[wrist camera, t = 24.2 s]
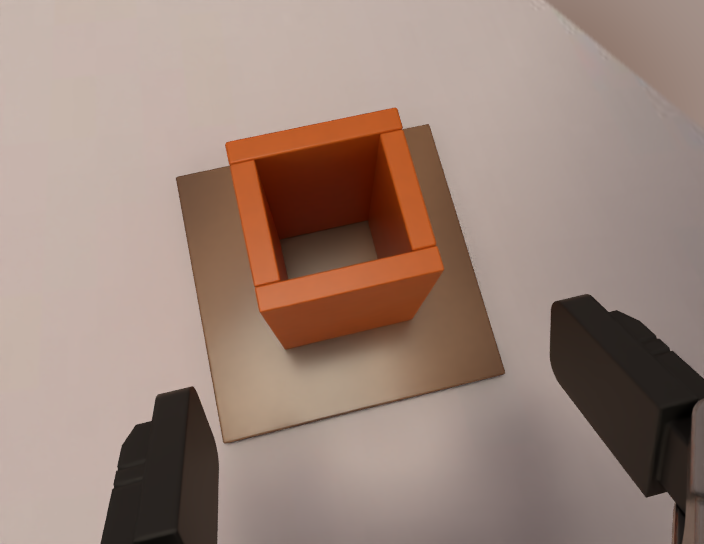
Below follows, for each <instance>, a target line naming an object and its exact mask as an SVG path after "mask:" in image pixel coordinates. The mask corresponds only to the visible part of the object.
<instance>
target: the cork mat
mask: <svg viewBox="0 0 704 544" xmlns="http://www.w3.org/2000/svg"><path fill="white" fill-rule="evenodd" d="M403 131H404V133H405V137H406V140H407V144H408V147H409V151H410V154H411V157H412V161H413V164H414V168H415V171H416V174H417V178H418V181H419V185H420V188H421V192H422V195H423V198H424V202H425V205H426V209H427V212H428V215H429V219H430V222H431V226H432V229H433V233H434V236H435V239H436V243H437V244H436V246H437V247H438V249H439V252H440V256H441V259H442V262H443V266H444V271H443V273H442V274H441V276H440V277H439V279H438V280H437V282H436V283H435V285H434V286H433V288H432V290H431V291H430V293H429V294H428V296H427V297H426V299H425V300H424V302H423V303H422V305H421V306H420V308H419V310H418V311H417V313H416V314H415V316H414V317H413V319H412V320H408V321H404V322H399V323H395V324H391V325H387V326H383V327H378V328H374V329H370V330H366V331H361V332H357V333H353V334H349V335H345V336H340V337H336V338H332V339H328V340H323V341H319V342H315V343H311V344H307V345H302V346H298V347H294V348H290V349H284V348H283V346H282V345H281V343H280V342H279V340H278V339H277V337H276V336H275V334H274V333H273V331H272V330H271V328H270V327H269V325H268V324H267V322H266V321H265V319H264V318H263V316H262V315H261V313H260V312H259V308H258V303H257V298H256V294H255V286H254V284H253V279H252V274H251V269H250V264H249V259H248V254H247V250H246V245H245V240H244V235H243V230H242V225H241V220H240V215H239V210H238V205H237V201H236V196H235V191H234V186H233V181H232V176H231V171H230V166H227V167H222V168H217V169H212V170H208V171H203V172H198V173H193V174H189V175H184V176H179V177H176V181H177V186H178V192H179V198H180V203H181V209H182V214H183V220H184V226H185V231H186V237H187V242H188V248H189V254H190V259H191V265H192V270H193V276H194V281H195V287H196V293H197V298H198V304H199V309H200V315H201V321H202V326H203V332H204V337H205V343H206V349H207V354H208V360H209V365H210V371H211V377H212V382H213V388H214V393H215V399H216V405H217V410H218V416H219V421H220V427H221V432H222V438H223V443H230V442H234V441H238V440H242V439H246V438H251V437H255V436H259V435H263V434H267V433H271V432H275V431H279V430H283V429H287V428H291V427H295V426H299V425H303V424H307V423H311V422H315V421H319V420H323V419H327V418H331V417H335V416H339V415H343V414H347V413H351V412H355V411H359V410H363V409H367V408H371V407H375V406H379V405H383V404H387V403H391V402H395V401H399V400H403V399H407V398H411V397H415V396H419V395H423V394H427V393H431V392H435V391H439V390H443V389H447V388H451V387H455V386H459V385H463V384H467V383H471V382H475V381H479V380H483V379H487V378H491V377H495V376H499V375H503V374H505V370H504V367H503V364H502V360H501V357H500V354H499V351H498V347H497V344H496V341H495V338H494V334H493V331H492V328H491V325H490V321H489V318H488V315H487V312H486V308H485V305H484V302H483V299H482V295H481V292H480V289H479V286H478V282H477V279H476V276H475V273H474V269H473V266H472V263H471V259H470V256H469V253H468V250H467V246H466V243H465V240H464V237H463V233H462V230H461V227H460V224H459V220H458V217H457V214H456V211H455V207H454V204H453V201H452V198H451V194H450V191H449V188H448V185H447V181H446V178H445V175H444V172H443V168H442V165H441V162H440V159H439V155H438V152H437V149H436V146H435V142H434V139H433V136H432V133H431V129H430V126H429V124H426V125H422V126H417V127H412V128H407V129H403ZM280 243H281V248H282V252H283V257H284V261H285V266H286V271H287V275H288V279H293V278H297V277H302V276H306V275H310V274H315V273H319V272H324V271H328V270H332V269H337V268H341V267H346V266H350V265H354V264H359V263H363V262H368V261H372V260H376V259H378V258H377V254H376V250H375V246H374V243H373V239H372V235H371V231H370V227H369V224H368V220H366V221H362V222H357V223H353V224H348V225H344V226H339V227H335V228H330V229H326V230H321V231H317V232H312V233H308V234H303V235H299V236H294V237H290V238H285V239H281V240H280Z"/></svg>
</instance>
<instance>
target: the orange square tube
mask: <svg viewBox="0 0 704 544" xmlns="http://www.w3.org/2000/svg"><path fill="white" fill-rule="evenodd" d="M402 128H403V127H402V123H401V120H400V116H399V113H398V110H397V108H391V109H386V110H381V111H376V112H371V113H366V114H362V115H357V116H352V117H347V118H342V119H337V120H332V121H328V122H323V123H318V124H313V125H308V126H303V127H298V128H294V129H289V130H284V131H279V132H274V133H269V134H264V135H260V136H255V137H250V138H245V139H240V140H235V141H230V142H227V143H226V144H225V146H226V151H227V156H228V161H229V165H230V171H231V176H232V181H233V186H234V191H235V196H236V201H237V205H238V210H239V215H240V220H241V225H242V230H243V235H244V240H245V245H246V250H247V254H248V259H249V264H250V269H251V274H252V279H253V284H254V286H255V294H256V298H257V303H258V308H259V312H260V313H261V315H262V316H263V318H264V319H265V321H266V322H267V324H268V325H269V327H270V328H271V330H272V331H273V333H274V334H275V336H276V337H277V339H278V340H279V342H280V343H281V345H282V346H283V348H284V349H290V348H294V347H298V346H302V345H307V344H311V343H315V342H319V341H323V340H328V339H332V338H336V337H340V336H345V335H349V334H353V333H357V332H361V331H366V330H370V329H374V328H378V327H383V326H387V325H391V324H395V323H399V322H404V321H408V320H412V319H413V317H414V316H415V314H416V313H417V311H418V310H419V308H420V306H421V305H422V303H423V302H424V300H425V299H426V297H427V296H428V294H429V293H430V291H431V290H432V288H433V286H434V285H435V283H436V282H437V280H438V279H439V277H440V276H441V274H442V273H443V271H444V266H443V262H442V259H441V256H440V252H439V249H438V247H437V246H436V244H437V243H436V239H435V236H434V233H433V229H432V226H431V222H430V219H429V215H428V212H427V209H426V205H425V202H424V198H423V195H422V192H421V188H420V185H419V181H418V178H417V174H416V171H415V168H414V164H413V161H412V157H411V154H410V151H409V147H408V144H407V140H406V137H405V133H404V131H403V130H402ZM366 220H368V224H369V227H370V231H371V235H372V239H373V243H374V246H375V250H376V254H377V258H378V259H376V260H372V261H368V262H363V263H359V264H354V265H350V266H346V267H341V268H337V269H332V270H328V271H324V272H319V273H315V274H310V275H306V276H302V277H297V278H293V279H288V275H287V271H286V266H285V261H284V257H283V252H282V248H281V243H280V240H281V239H285V238H290V237H294V236H299V235H303V234H308V233H312V232H317V231H321V230H326V229H330V228H335V227H339V226H344V225H348V224H353V223H357V222H362V221H366Z"/></svg>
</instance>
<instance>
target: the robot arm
mask: <svg viewBox="0 0 704 544" xmlns="http://www.w3.org/2000/svg"><path fill="white" fill-rule="evenodd" d="M550 361H551V366H552V369H553V372H554V375H555V377H556V379H557V381H558V382H559V384H560V385H561V386H562V388H563V389H564V390H565V392H566V393H567V394H568V396H569V397H570V398H571V400H572V401H573V402H574V404H575V405H576V406H577V408H578V409H579V410H580V411H581V413H582V414H583V415H584V417H585V418H586V419H587V421H588V422H589V423H590V425H591V426H592V427H593V429H594V430H595V431H596V432H597V434H598V435H599V436H600V438H601V439H602V440H603V442H604V443H605V444H606V446H607V447H608V448H609V450H610V451H611V452H612V454H613V455H614V456H615V457H616V459H617V460H618V461H619V463H620V464H621V465H622V467H623V468H624V469H625V471H626V472H627V473H628V475H629V476H630V477H631V479H632V480H633V481H634V482H635V484H636V485H637V486H638V488H639V489H640V490H641V492H642V493H643V494H644V496H645V497H650V496H654V495H657V494H661V493H665V492H668V494H669V495H670V496H671V497H672V498H673V500H674V501H675V504H674V509H673V522H672V542H671V544H704V379H703V378H702V377H701V376H700V375H699V374H698V373H697V372H696V371H694V370H693V369H692V368H691V367H690V366H689V365H688V364H687V363H686V362H685V361H683V360H682V359H681V358H680V357H679V356H678V355H677V354H676V353H675V352H673V351H670V349H669V347H668V346H667V345H666V344H665V343H664V342H662V341H661V340H660V339H657V338H656V335H655V334H654V333H652V332H651V331H650V330H649V329H648V328H647V327H646V326H645V325H644V324H643V323H641V322H640V321H639V320H637V319H634V318H632V317H630V316H628V315H626V314H624V313H622V312H619V311H617V310H616V311H612V312H608V311H607V310H606V309H605V308H604V307H603V306H602V305H601V304H600V303H599V302H597V301H596V300H595V299H594V298H593V297H592V296H591V295H589V294H584V295H580V296H576V297H572V298H568V299H563V300H559V301H555V302H554V303H553V304H552V307H551V330H550ZM117 467H118V471H116V475H115V480H114V489H112V494H111V498H110V503H109V507H108V512H107V517H106V521H105V526H104V530H103V535H102V540H101V544H217V531H218V482H219V461H218V453H217V447H216V443H215V439H214V436H213V434H212V431H211V428H210V426H209V423H208V420H207V418H206V415H205V412H204V410H203V407H202V405H201V402H200V399H199V397H198V394H197V392H196V390H195V388H194V387H188V388H184V389H179V390H175V391H171V392H167V393H162V394H158V395H157V396H156V400H155V405H154V411H153V417H152V421H150V422H146V423H142V424H137V425H136V426H135V427H134V429H133V430H132V431H131V433H130V434H129V436H128V437H127V439H126V440H125V442H124V443H123V445H122V448H121V452H120V457H119V461H118V466H117Z"/></svg>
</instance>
